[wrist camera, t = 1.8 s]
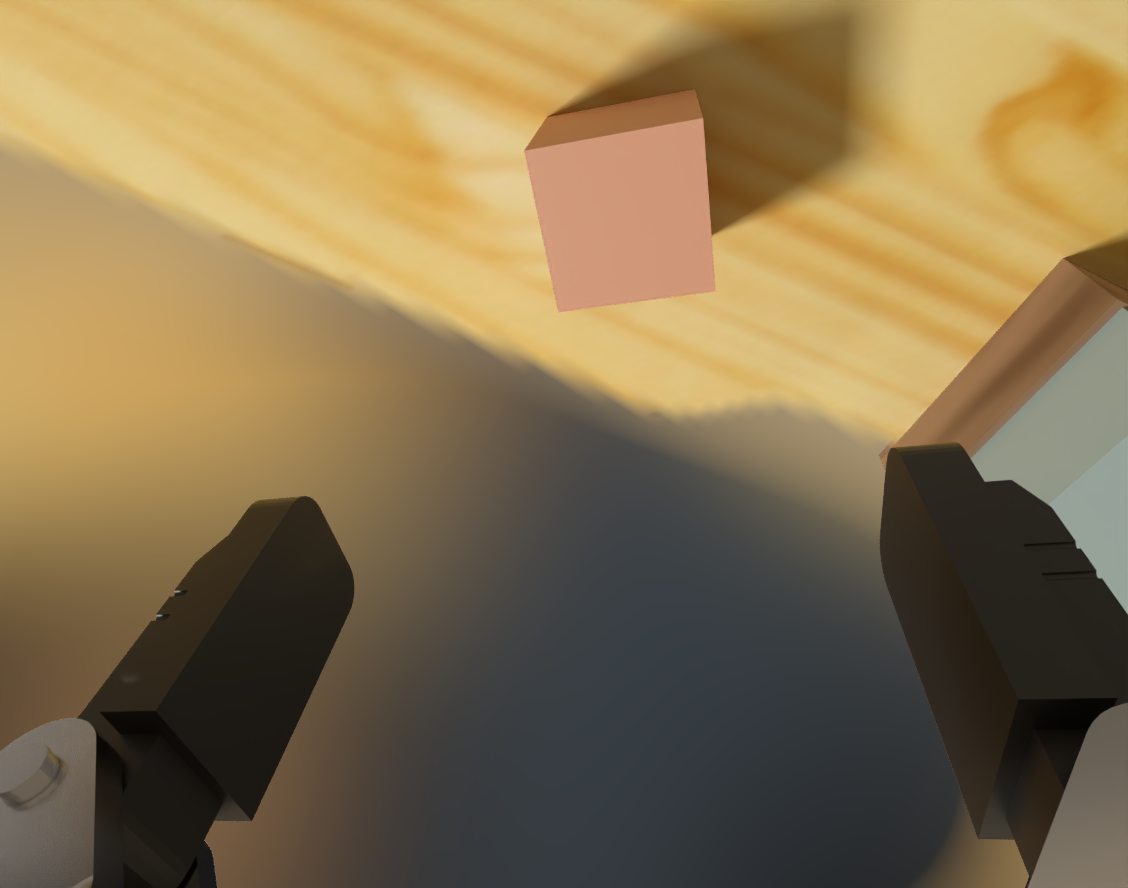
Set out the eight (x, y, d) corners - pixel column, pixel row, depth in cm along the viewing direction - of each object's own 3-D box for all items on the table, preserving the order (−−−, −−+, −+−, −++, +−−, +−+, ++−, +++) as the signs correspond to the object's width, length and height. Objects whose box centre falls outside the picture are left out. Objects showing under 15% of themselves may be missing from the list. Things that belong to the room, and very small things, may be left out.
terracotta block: (573, 256, 26) (558, 312, 22) (547, 116, 24) (524, 150, 20) (706, 237, 25) (715, 291, 21) (694, 88, 23) (703, 118, 19)
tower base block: (878, 454, 30) (904, 514, 27) (1057, 254, 25) (1117, 299, 21) (1064, 535, 32) (1110, 601, 28) (1274, 362, 26) (1362, 420, 23)
